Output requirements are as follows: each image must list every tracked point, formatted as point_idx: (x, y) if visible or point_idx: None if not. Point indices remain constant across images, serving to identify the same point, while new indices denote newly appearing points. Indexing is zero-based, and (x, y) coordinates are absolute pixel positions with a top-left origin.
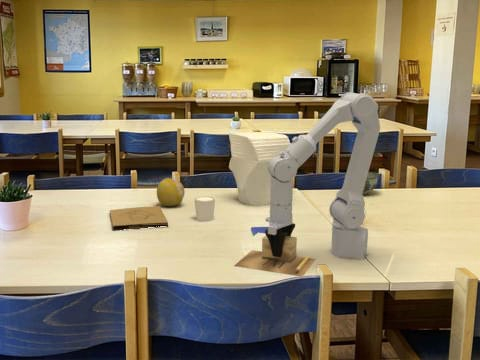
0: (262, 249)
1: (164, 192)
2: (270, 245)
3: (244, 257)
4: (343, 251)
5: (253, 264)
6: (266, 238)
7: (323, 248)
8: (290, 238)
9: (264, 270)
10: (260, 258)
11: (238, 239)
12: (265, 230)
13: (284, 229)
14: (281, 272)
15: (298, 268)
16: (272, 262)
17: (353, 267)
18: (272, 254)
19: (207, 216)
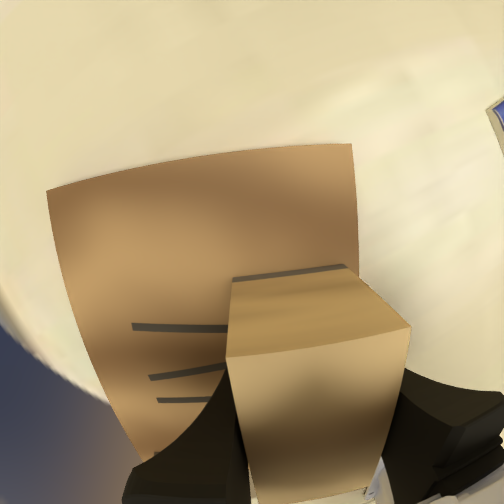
0: (230, 306)
1: None
2: (205, 406)
3: (189, 164)
4: (386, 495)
5: (115, 277)
6: (249, 389)
7: (481, 382)
8: (333, 483)
9: (89, 356)
10: (227, 268)
11: (468, 29)
12: (137, 497)
13: (409, 472)
14: (123, 417)
15: None
16: (205, 354)
17: (340, 495)
18: (225, 369)
19: None
